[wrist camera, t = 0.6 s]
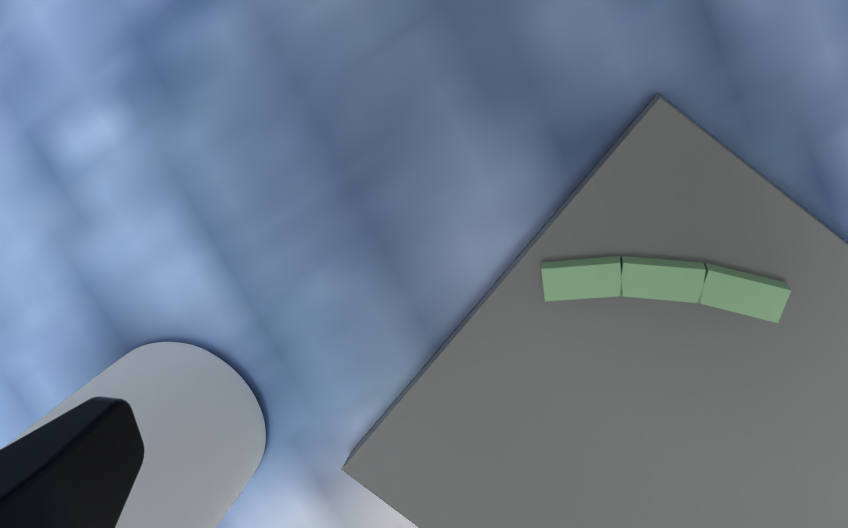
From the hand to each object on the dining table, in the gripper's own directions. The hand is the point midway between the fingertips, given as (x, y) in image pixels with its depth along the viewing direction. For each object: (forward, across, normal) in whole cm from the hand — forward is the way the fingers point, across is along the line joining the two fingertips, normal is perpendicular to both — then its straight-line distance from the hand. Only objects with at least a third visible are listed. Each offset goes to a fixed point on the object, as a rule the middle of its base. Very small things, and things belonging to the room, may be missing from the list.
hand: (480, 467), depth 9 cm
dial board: (+12, -6, +13) cm, 19 cm away
